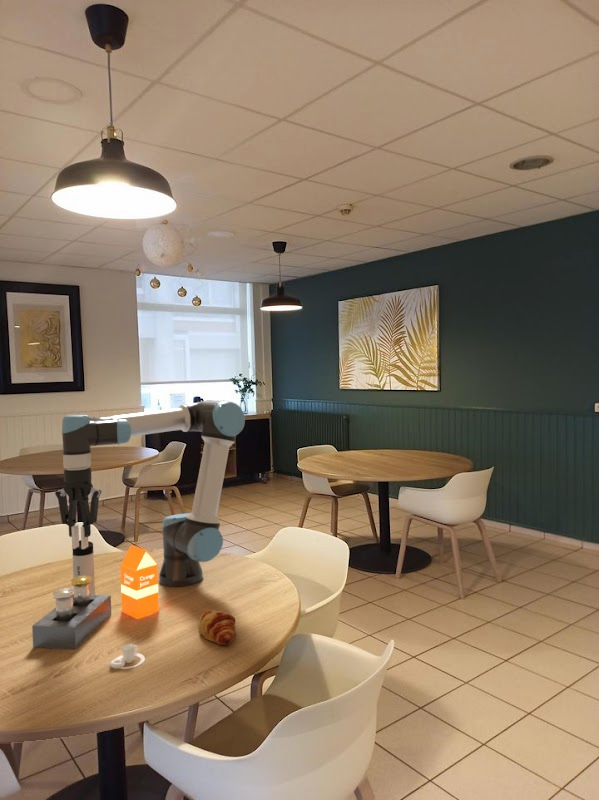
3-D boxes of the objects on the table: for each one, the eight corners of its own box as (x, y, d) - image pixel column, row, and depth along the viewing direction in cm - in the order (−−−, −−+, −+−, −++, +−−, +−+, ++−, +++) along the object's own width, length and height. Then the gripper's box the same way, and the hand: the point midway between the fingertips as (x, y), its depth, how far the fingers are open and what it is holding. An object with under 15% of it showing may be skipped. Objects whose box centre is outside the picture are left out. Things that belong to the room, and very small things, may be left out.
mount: (111, 614, 174) (110, 595, 174) (75, 649, 152) (74, 627, 152) (73, 613, 175) (73, 594, 175) (33, 647, 154) (32, 625, 153)
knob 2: (95, 602, 171) (94, 575, 171) (87, 609, 165) (86, 582, 165) (78, 601, 172) (77, 575, 171) (68, 609, 166) (67, 582, 166)
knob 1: (79, 616, 161) (78, 588, 161) (69, 624, 156) (68, 595, 155) (60, 615, 162) (59, 587, 161) (50, 624, 156) (48, 595, 156)
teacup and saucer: (110, 674, 140) (110, 658, 140) (107, 659, 147) (107, 644, 147) (147, 666, 143) (146, 650, 143) (142, 652, 151) (142, 637, 150)
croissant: (197, 632, 169) (184, 611, 167) (226, 611, 172) (213, 590, 171) (220, 663, 150) (205, 639, 148) (251, 638, 153) (237, 614, 152)
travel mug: (89, 598, 187) (87, 538, 186) (98, 604, 182) (96, 542, 181) (70, 604, 182) (68, 542, 182) (79, 610, 178) (77, 546, 177)
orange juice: (136, 619, 170) (134, 553, 170) (121, 611, 176) (119, 547, 176) (159, 611, 176) (157, 547, 175) (143, 603, 182) (141, 541, 181)
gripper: (108, 465, 170) (110, 544, 171) (59, 465, 171) (62, 543, 172) (96, 470, 162) (99, 551, 163) (45, 470, 164) (48, 551, 165)
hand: (80, 547), depth 168 cm, fingers open, 2 cm apart
